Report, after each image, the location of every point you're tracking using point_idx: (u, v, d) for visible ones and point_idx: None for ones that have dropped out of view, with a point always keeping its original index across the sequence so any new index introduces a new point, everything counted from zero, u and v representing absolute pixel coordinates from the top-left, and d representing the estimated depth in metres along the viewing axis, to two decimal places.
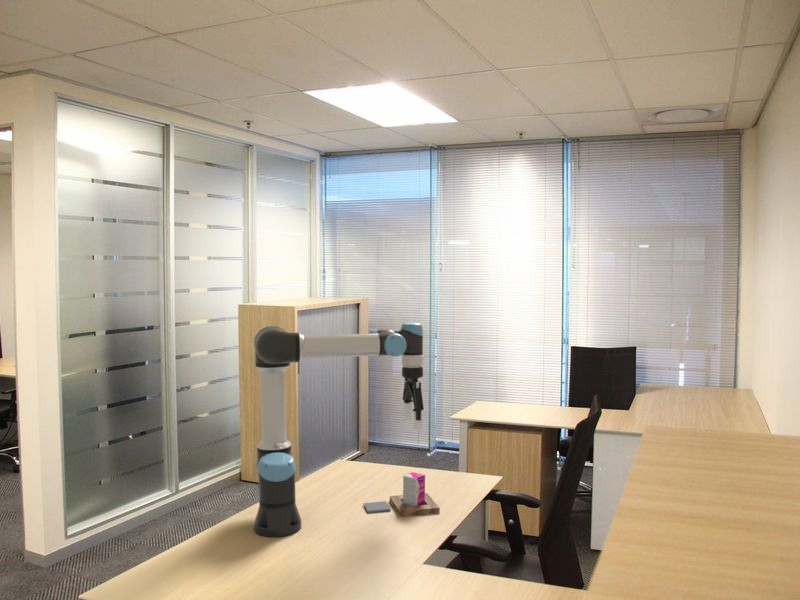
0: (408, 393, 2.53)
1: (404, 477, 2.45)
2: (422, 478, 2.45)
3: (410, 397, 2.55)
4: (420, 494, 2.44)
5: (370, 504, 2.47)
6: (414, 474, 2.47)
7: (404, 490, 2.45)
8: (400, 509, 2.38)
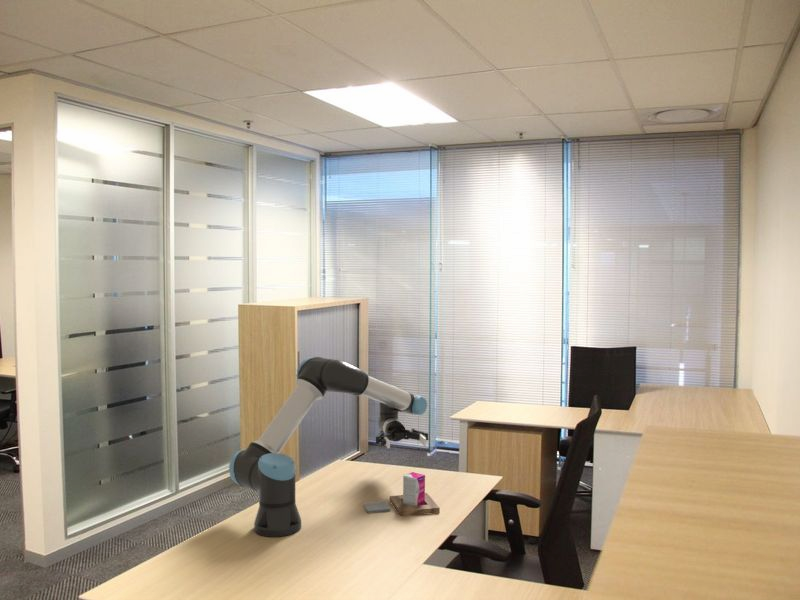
0: (390, 435, 2.64)
1: (404, 477, 2.45)
2: (422, 478, 2.45)
3: None
4: (420, 494, 2.44)
5: (370, 504, 2.47)
6: (414, 474, 2.47)
7: (404, 490, 2.45)
8: (400, 509, 2.38)
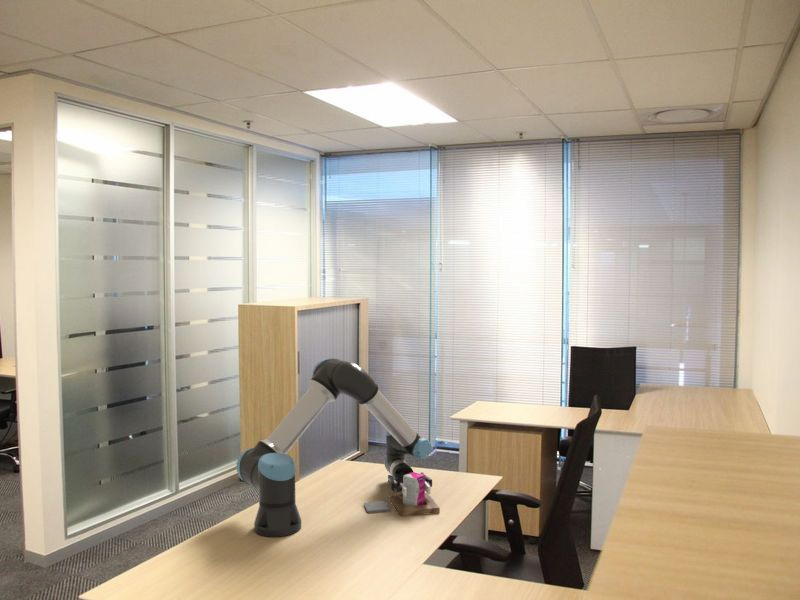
0: (402, 480, 2.52)
1: (404, 477, 2.45)
2: (422, 478, 2.45)
3: None
4: (420, 494, 2.44)
5: (370, 504, 2.47)
6: (414, 474, 2.47)
7: None
8: (400, 509, 2.38)
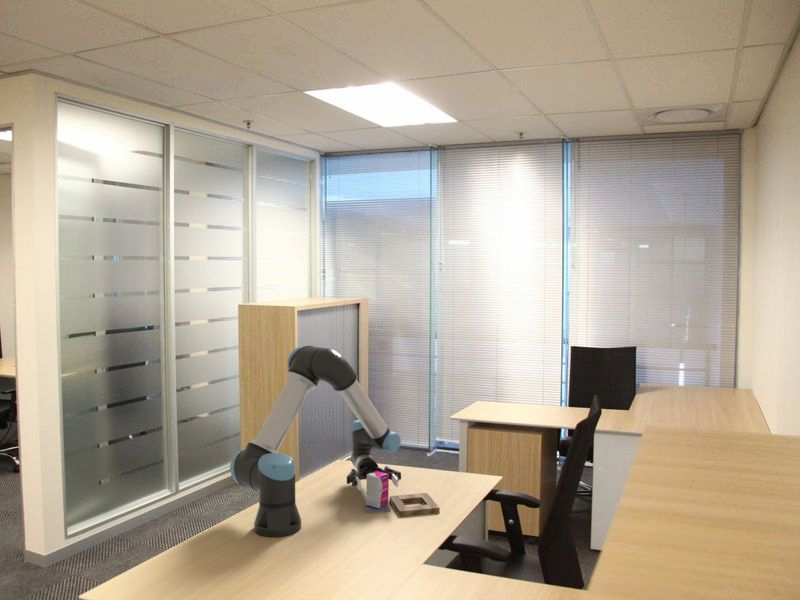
0: (361, 474, 2.51)
1: (367, 476, 2.44)
2: (385, 477, 2.44)
3: (358, 479, 2.49)
4: (383, 493, 2.43)
5: None
6: (377, 473, 2.46)
7: (367, 489, 2.44)
8: (400, 509, 2.38)
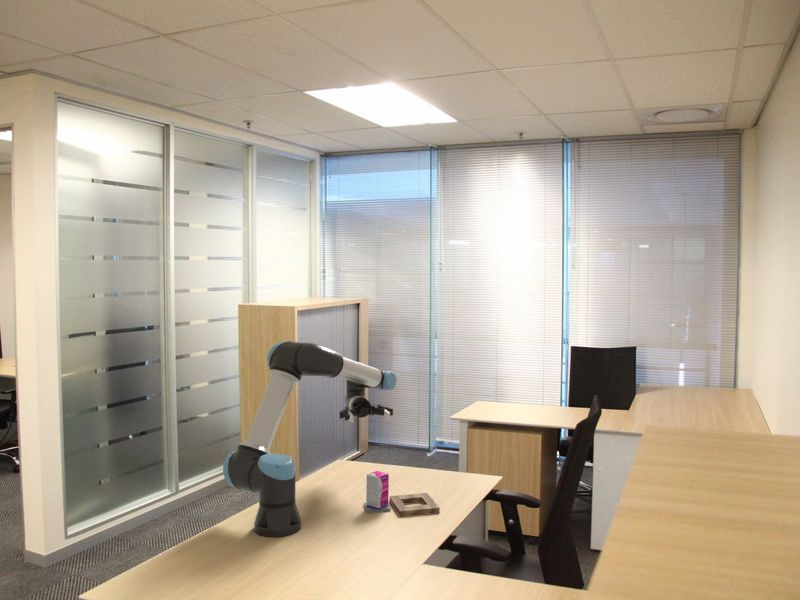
0: (354, 411, 2.62)
1: (367, 476, 2.44)
2: (385, 477, 2.44)
3: None
4: (383, 493, 2.43)
5: None
6: (377, 473, 2.46)
7: (367, 489, 2.44)
8: (400, 509, 2.38)
